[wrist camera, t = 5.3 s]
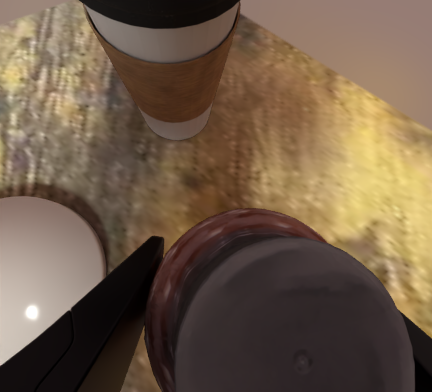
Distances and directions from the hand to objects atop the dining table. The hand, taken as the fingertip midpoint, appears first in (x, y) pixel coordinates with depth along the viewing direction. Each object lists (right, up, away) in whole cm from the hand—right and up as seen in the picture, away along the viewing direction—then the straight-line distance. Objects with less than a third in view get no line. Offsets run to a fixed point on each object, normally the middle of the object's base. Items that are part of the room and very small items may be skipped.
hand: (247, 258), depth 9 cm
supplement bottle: (-1, -3, +6) cm, 7 cm away
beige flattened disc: (-15, -4, +9) cm, 18 cm away
